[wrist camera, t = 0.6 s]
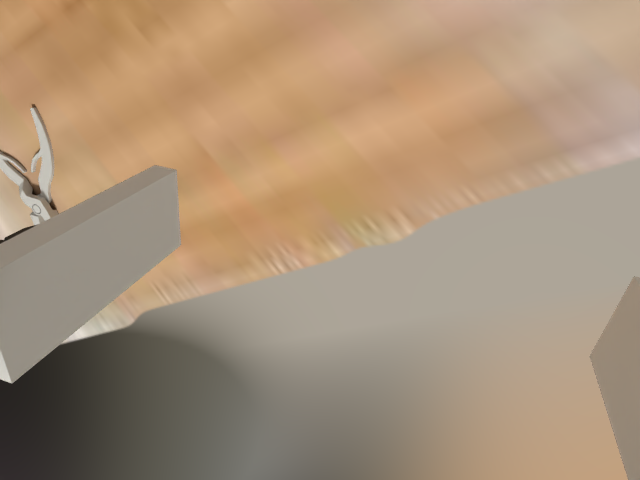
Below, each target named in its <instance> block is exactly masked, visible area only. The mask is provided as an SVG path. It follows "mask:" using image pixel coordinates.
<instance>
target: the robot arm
mask: <svg viewBox="0 0 640 480" xmlns="http://www.w3.org/2000/svg"><path fill="white" fill-rule="evenodd" d="M180 245H181V239H180V221H179V204H178V186H177V170H175V169H170V168H166V167H162V166H157V165H154V166H152V167H150V168H148V169H147V170H145V171H143V172H141V173H139V174H137V175H135V176H133V177H131V178H129V179H127V180H125V181H123V182H121V183H119V184H117V185H115V186H113V187H111V188H109V189H107V190H105V191H103V192H101V193H99V194H97V195H95V196H93V197H91V198H89V199H87V200H85V201H84V202H82V203H80V204H78V205H76V206H74V207H72V208H70V209H68V210H66V211H64V212H62V213H60V214H58V215H56V216H54V217H52V218H50V219H48V220H46V221H44V222H42V223H40V224H38V225H34V226H31V227H27V228H24V229H22V230H20V231H18V232H16V233H14V234H12V235H10V236H8V237H6V238H5V239H4V240H0V379H2V380H4V381H7V382H10V383H13V382H14V381H16V380H17V379H18V378H19V377H20V376H22V375H23V374H24V373H25V372H27V371H28V370H29V369H30V368H31V367H33V366H34V365H35V364H36V363H37V362H39V361H40V360H41V359H42V358H43V357H45V356H46V355H47V354H48V353H50V352H51V351H52V350H53V349H55V348H56V347H57V346H58V345H59V344H61V343H62V342H63V341H64V340H66V339H67V338H68V337H69V336H70V335H72V334H73V333H74V332H75V331H77V330H78V329H79V328H80V327H81V326H83V325H84V324H85V323H86V322H88V321H89V320H90V319H91V318H92V317H94V316H95V315H96V314H97V313H98V312H100V311H101V310H102V309H103V308H105V307H106V306H107V305H108V304H109V303H111V302H112V301H113V300H114V299H116V298H117V297H118V296H119V295H120V294H122V293H123V292H124V291H125V290H127V289H128V288H129V287H130V286H131V285H133V284H134V283H135V282H136V281H138V280H139V279H140V278H141V277H142V276H144V275H145V274H146V273H147V272H149V271H150V270H151V269H152V268H153V267H155V266H156V265H157V264H158V263H159V262H161V261H162V260H163V259H164V258H166V257H167V256H168V255H169V254H170V253H172V252H173V251H174V250H175V249H177V248H178V247H179V246H180ZM590 359H591V362H592V365H593V368H594V372H595V375H596V378H597V381H598V384H599V387H600V391H601V394H602V397H603V400H604V404H605V406H606V410H607V413H608V416H609V420H610V423H611V426H612V429H613V432H614V436H615V439H616V442H617V445H618V448H619V452H620V455H621V458H622V461H623V464H624V468H625V471H626V474H627V477H628V480H640V278H639V277H635V276H634V277H633V279H632V281H631V283H630V284H629V286H628V288H627V290H626V292H625V293H624V295H623V297H622V299H621V301H620V302H619V304H618V306H617V308H616V310H615V312H614V313H613V315H612V317H611V319H610V320H609V323H608V324H607V326H606V328H605V329H604V331H603V333H602V335H601V337H600V338H599V340H598V342H597V344H596V346H595V347H594V349H593V351H592V353H591V355H590Z"/></svg>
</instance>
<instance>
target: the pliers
mask: <svg viewBox="0 0 640 480" xmlns="http://www.w3.org/2000/svg"><path fill="white" fill-rule="evenodd" d="M30 110H31V113H32V116H33V119H34V122H35V126H36V129H37V133H38V137H39V142H40V147H41V149H40V151H39V152H38V153H37V154H36V155H35V156H34V158H33V160H32V164H31V172H35V170H36V163H37V160H38V159H39V157H41V156H42V165H41V170H40V174H39V178H38V181H39V185H40V190H41V194H39V195H33V194H32V190H33V188H32V186H31V185H30V183H29V182H28V180H27V179H26V178H25V177H24V176H23V175H22V174H20V173H19V172H18V171H17V170H16V169H15V168H14V167H12V166H11V165H10V164H9V162H8V161H10V162H12V163H13V164H15V165H16V166H17V167H18V168H19V169H20V170H21V171H22V172H23V173H25V172H27V170H26V169H25V168H24V167H23V166H22V165H21V164H20V163H19V162H18V161H16V160H15V159H13V158H12V157H10V156H8V155H5V154H3V153H2V152H0V168H1V170H2V171H3V172H4V173H5V174H6V175H7V176H8V177H9V178H10V179H11V180H12V181H13V182H15V183H16V184H17V185H18V186H19V191H20V197H21V199H22V200H23V202H24V203H25V204H26V205H27V206H29V207H30V208H31V209H32V211H33V212H32V213H31V214H30V216H31V218H32V221H33V223H34V225H38V224H40V223H42V222H44V221H46V220H48V219H50V218H52V217H54V216H56V215H58V212H57V210H52V208H51V207H50V202H51V201H52V198H51V193H50V188H51V182H52V179H53V176H54V157H53V151H52V146H51V142H50V138H49V135H48V132H47V130H46V127H45V124H44V122H43V120H42V118H41V116H40V114H39V112H38V110H37V108H36V107H34V108H30ZM7 160H8V161H7Z"/></svg>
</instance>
